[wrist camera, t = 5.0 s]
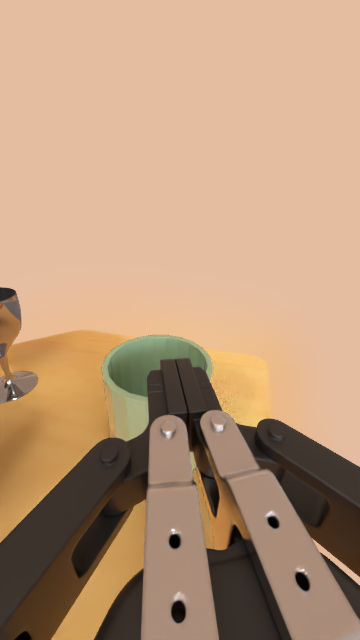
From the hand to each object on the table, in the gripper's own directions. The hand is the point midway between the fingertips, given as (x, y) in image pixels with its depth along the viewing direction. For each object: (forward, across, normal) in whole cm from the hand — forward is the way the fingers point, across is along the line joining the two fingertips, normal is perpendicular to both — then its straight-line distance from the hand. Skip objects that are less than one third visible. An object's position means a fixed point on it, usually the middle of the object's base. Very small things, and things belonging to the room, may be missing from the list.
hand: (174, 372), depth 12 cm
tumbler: (+10, 0, -19) cm, 21 cm away
